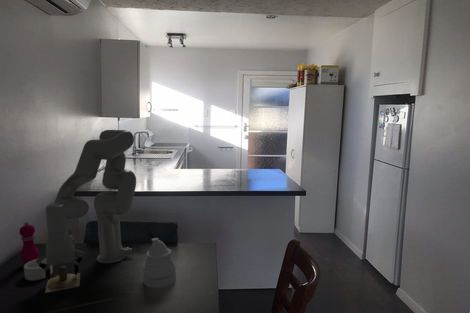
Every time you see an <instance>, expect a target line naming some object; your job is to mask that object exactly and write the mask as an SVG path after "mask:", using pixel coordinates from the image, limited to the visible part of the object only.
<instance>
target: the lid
mask: <svg viewBox="0 0 470 313" xmlns="http://www.w3.org/2000/svg"><path fill="white" fill-rule="evenodd" d="M52 278H53V279H51V280H50V282H49V286H50V287H51V288H54V289H61V288H66V287H69V286H71V285H73V284H74V283H76V282H77V275H75V273H68V272H67V266H66V265H62V266H59V267H58V275H56V276H54V277H52Z"/></svg>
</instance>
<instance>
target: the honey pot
mask: <svg viewBox="0 0 470 313" xmlns="http://www.w3.org/2000/svg"><path fill="white" fill-rule="evenodd" d="M151 242H152V245H151V247H150V249H149V250H148V251H147V252H146V253H145V257H146V259H145V263H144V265H143V269H142V272H143V274H142V275H143V277H142V278H143V284H144V285H145V286H146V287H148V288H151V289H159V288H165V287H169V286H170V285H172V284H174V283H175V282H176V280H177V270H176V263H175V262H174V260H173V256H172V250H171V249H170V248H168V247H167V245H166V244H165V243H164V242H163V241H162V240H160V239H159V237H154V238H151Z"/></svg>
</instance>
